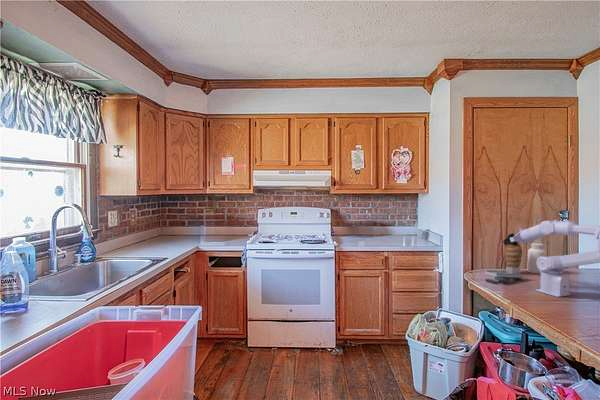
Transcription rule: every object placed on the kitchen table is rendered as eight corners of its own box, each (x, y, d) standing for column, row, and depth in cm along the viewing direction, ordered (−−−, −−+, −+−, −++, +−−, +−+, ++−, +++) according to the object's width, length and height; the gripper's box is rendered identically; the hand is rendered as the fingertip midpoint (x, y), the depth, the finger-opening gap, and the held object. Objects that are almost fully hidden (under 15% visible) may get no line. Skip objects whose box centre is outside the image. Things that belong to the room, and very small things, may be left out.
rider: (519, 274, 165) (519, 267, 165) (512, 274, 163) (512, 267, 163) (512, 273, 168) (513, 266, 168) (505, 272, 166) (506, 265, 166)
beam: (523, 277, 164) (523, 273, 164) (496, 276, 157) (496, 272, 157) (511, 274, 169) (511, 271, 169) (485, 273, 163) (485, 269, 163)
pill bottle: (545, 274, 175) (546, 245, 175) (526, 272, 180) (527, 244, 179) (545, 271, 182) (546, 243, 181) (527, 269, 186) (528, 242, 186)
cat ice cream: (525, 275, 174) (526, 240, 173) (509, 275, 174) (510, 240, 174) (515, 270, 183) (515, 237, 182) (500, 270, 183) (501, 237, 182)
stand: (524, 280, 163) (524, 276, 163) (497, 284, 157) (497, 279, 157) (510, 277, 170) (510, 272, 170) (483, 280, 163) (483, 275, 163)
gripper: (541, 222, 157) (518, 231, 169) (517, 227, 153) (495, 236, 165) (548, 236, 154) (524, 244, 167) (524, 243, 150) (501, 250, 163)
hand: (510, 241), depth 166 cm, fingers open, 7 cm apart
